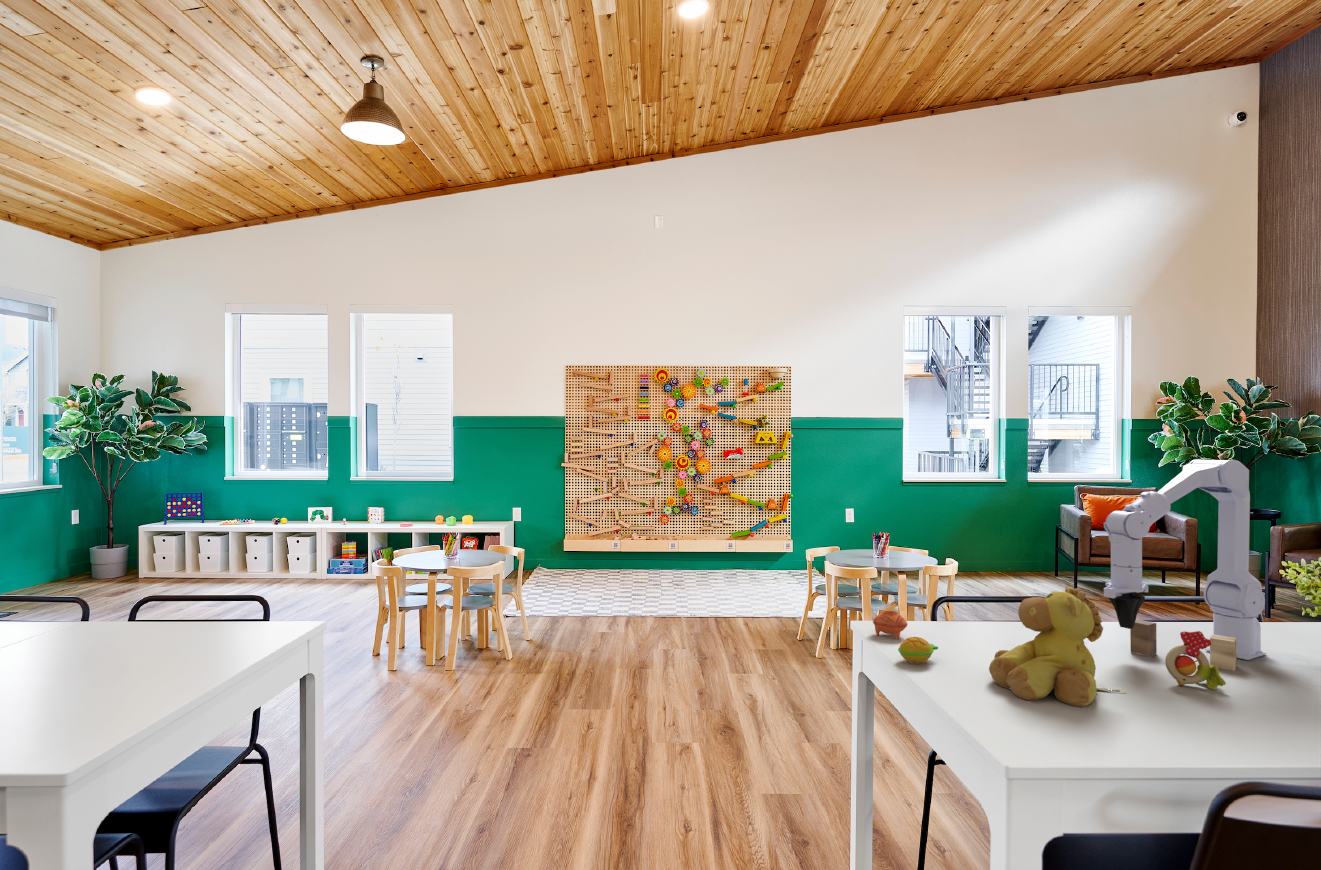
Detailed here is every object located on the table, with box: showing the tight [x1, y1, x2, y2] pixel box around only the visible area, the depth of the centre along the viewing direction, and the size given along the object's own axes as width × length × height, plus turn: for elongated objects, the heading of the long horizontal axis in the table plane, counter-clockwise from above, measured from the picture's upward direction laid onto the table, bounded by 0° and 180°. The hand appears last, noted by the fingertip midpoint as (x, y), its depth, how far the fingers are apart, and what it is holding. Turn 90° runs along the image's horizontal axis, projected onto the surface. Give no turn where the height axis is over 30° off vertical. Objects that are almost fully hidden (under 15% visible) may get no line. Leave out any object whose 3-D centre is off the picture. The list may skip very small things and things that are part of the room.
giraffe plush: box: [988, 586, 1127, 708], centre depth 131 cm, size 20×24×19 cm
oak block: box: [1209, 634, 1238, 671], centre depth 146 cm, size 4×4×6 cm
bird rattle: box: [1164, 630, 1227, 691], centre depth 133 cm, size 6×11×9 cm
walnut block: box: [1129, 619, 1158, 657], centre depth 154 cm, size 4×4×7 cm
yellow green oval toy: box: [897, 636, 939, 665], centre depth 148 cm, size 7×10×5 cm
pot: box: [872, 610, 908, 640], centre depth 167 cm, size 8×8×7 cm
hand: (1126, 627), depth 151 cm, fingers closed
